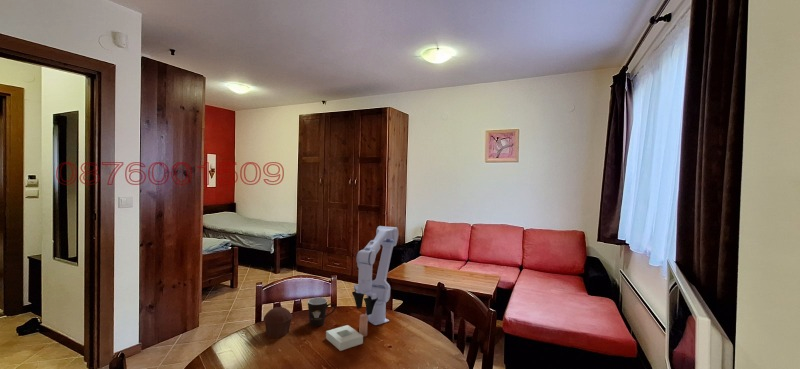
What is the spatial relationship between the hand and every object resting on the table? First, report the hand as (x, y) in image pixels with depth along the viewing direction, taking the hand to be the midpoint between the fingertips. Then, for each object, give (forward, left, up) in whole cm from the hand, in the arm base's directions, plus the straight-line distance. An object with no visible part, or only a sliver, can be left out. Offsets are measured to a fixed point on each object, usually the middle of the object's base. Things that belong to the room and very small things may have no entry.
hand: (364, 311), depth 136 cm
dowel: (0, 0, -10) cm, 10 cm away
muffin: (-22, -28, -10) cm, 37 cm away
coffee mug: (-20, -10, -10) cm, 25 cm away
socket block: (0, -9, -10) cm, 13 cm away
